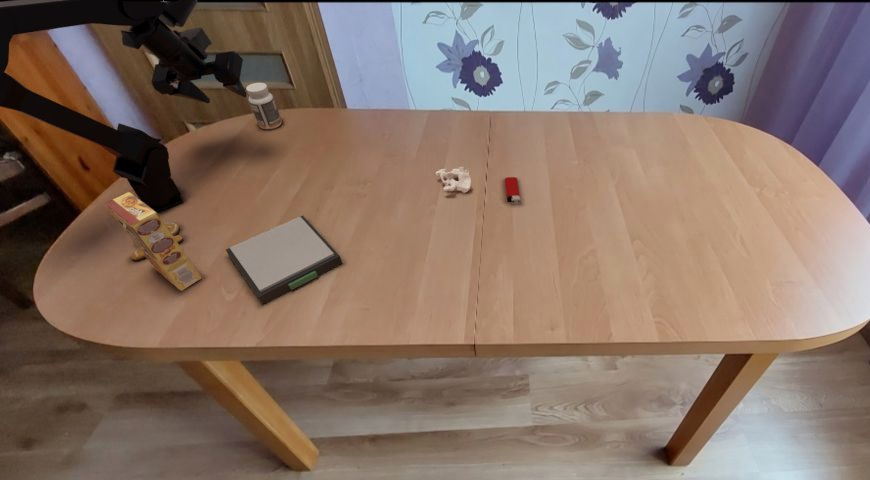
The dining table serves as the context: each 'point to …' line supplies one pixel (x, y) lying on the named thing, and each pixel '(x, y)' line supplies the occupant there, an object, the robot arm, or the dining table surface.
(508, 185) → the lighter
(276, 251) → the kitchen scale
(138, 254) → the cookie
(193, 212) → the dining table surface
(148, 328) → the dining table surface
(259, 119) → the pill bottle
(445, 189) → the hip bone replica
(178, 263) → the candy box
